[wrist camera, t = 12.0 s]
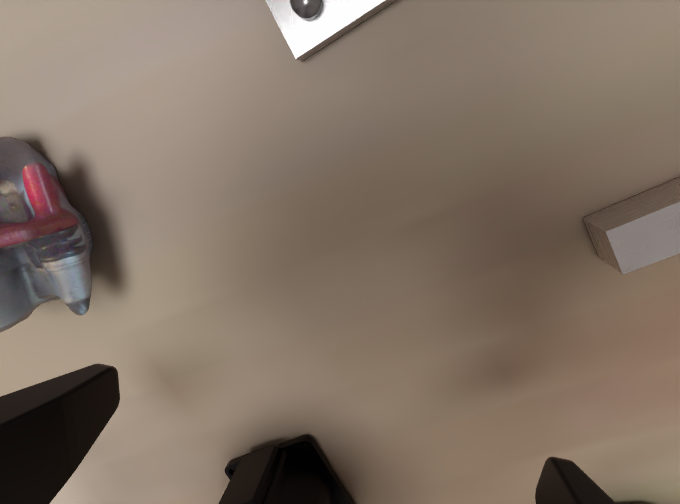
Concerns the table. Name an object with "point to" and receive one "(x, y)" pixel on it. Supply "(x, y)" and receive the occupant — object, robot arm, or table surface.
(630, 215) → the loose bracket
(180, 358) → the table surface
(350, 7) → the silver bolted socket base
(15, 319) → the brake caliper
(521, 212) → the table surface
